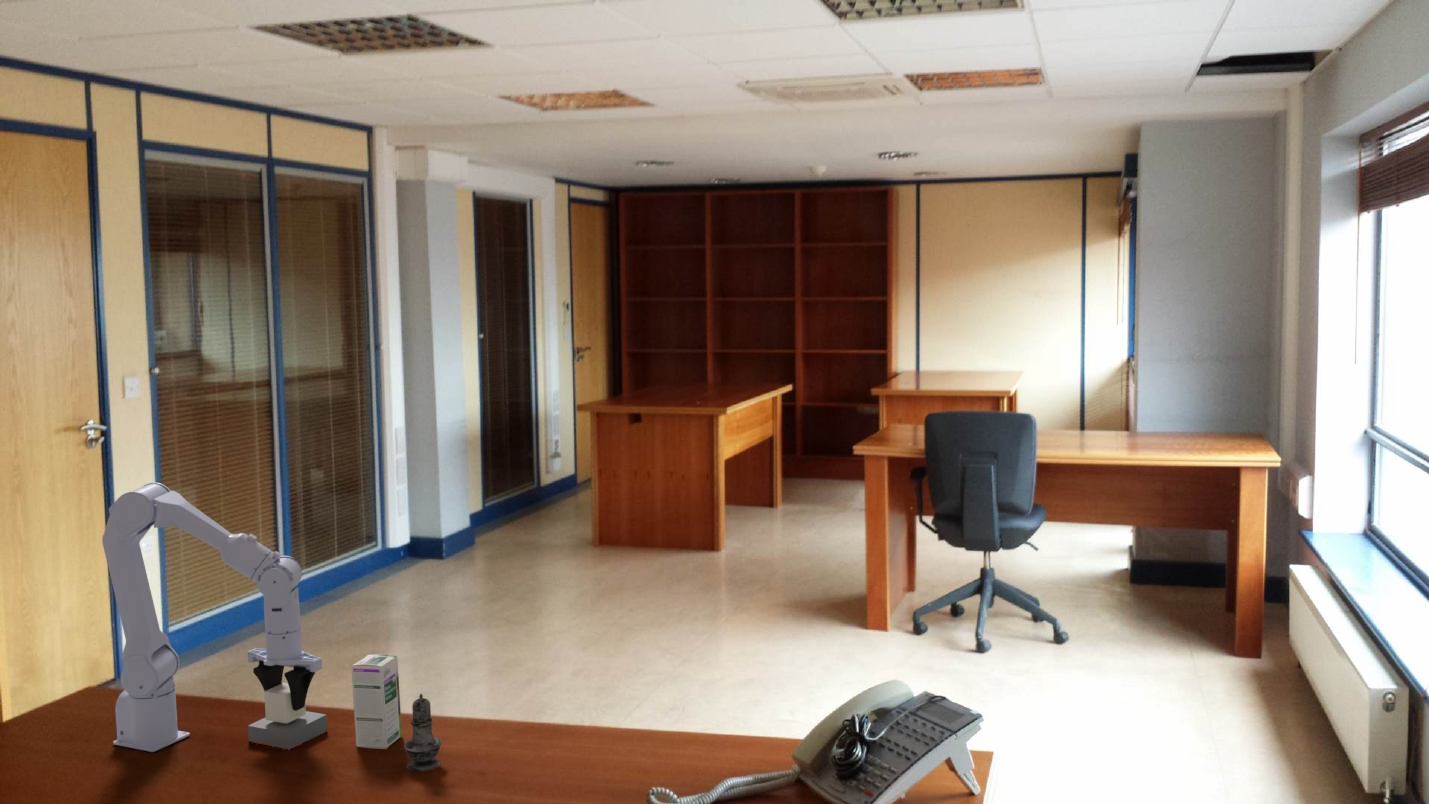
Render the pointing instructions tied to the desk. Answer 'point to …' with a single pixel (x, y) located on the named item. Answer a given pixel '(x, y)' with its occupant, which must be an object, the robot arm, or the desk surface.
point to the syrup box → (376, 701)
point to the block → (288, 730)
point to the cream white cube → (281, 705)
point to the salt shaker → (422, 739)
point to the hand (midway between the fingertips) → (286, 706)
